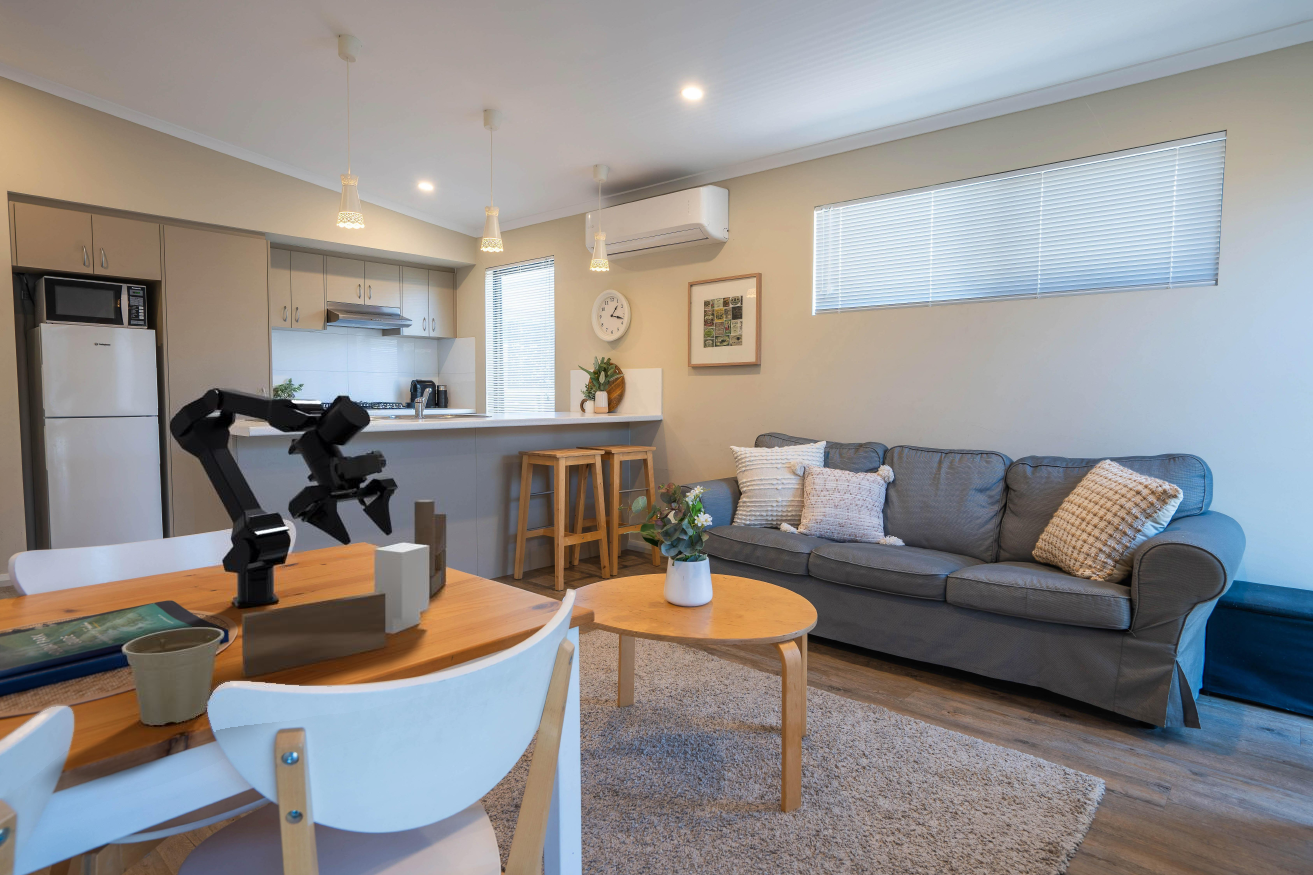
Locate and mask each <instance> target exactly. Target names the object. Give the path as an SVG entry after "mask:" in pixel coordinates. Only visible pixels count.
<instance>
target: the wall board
mask: <svg viewBox="0 0 1313 875" xmlns="http://www.w3.org/2000/svg"><path fill="white" fill-rule="evenodd" d="M241 627H242V628H241V630H242V631H241V635H242V636H241V637H242V642H241V644H242V646H241V647H242V650H241V651H242V654H241V656H242V676H243V677H244V679H247V678H253V677H257V676H261V675H266V674H270V673H275V672H279V671H280V672H281V671H283V670H288V669H293V668H297V667H301V666H306V665H310V664H311V665H312V664H315V663H320V662H325V661H328V660H329V661H330V660H332V659H333V660H334V659H338V658H342V657H348V656H351V655H355V654H360V653H364V652H370V651H375V650H378V649H383V648H386V645H387V644H386V643H387V642H386V640H387V639H386V634H387V633H386V599H385V593H384V592H382V591H380V592H375V591H374V592H369V593H363V594H355V595H351V596H350V595H349V596H346V597H339V598H338V597H337V598H332V599H327V600H321V601H314V602H308V603H303V604H296V605H291V606H285V607H278V608H273V609H268V610H260V611H253V612H248V613H242V614H241Z"/></svg>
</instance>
